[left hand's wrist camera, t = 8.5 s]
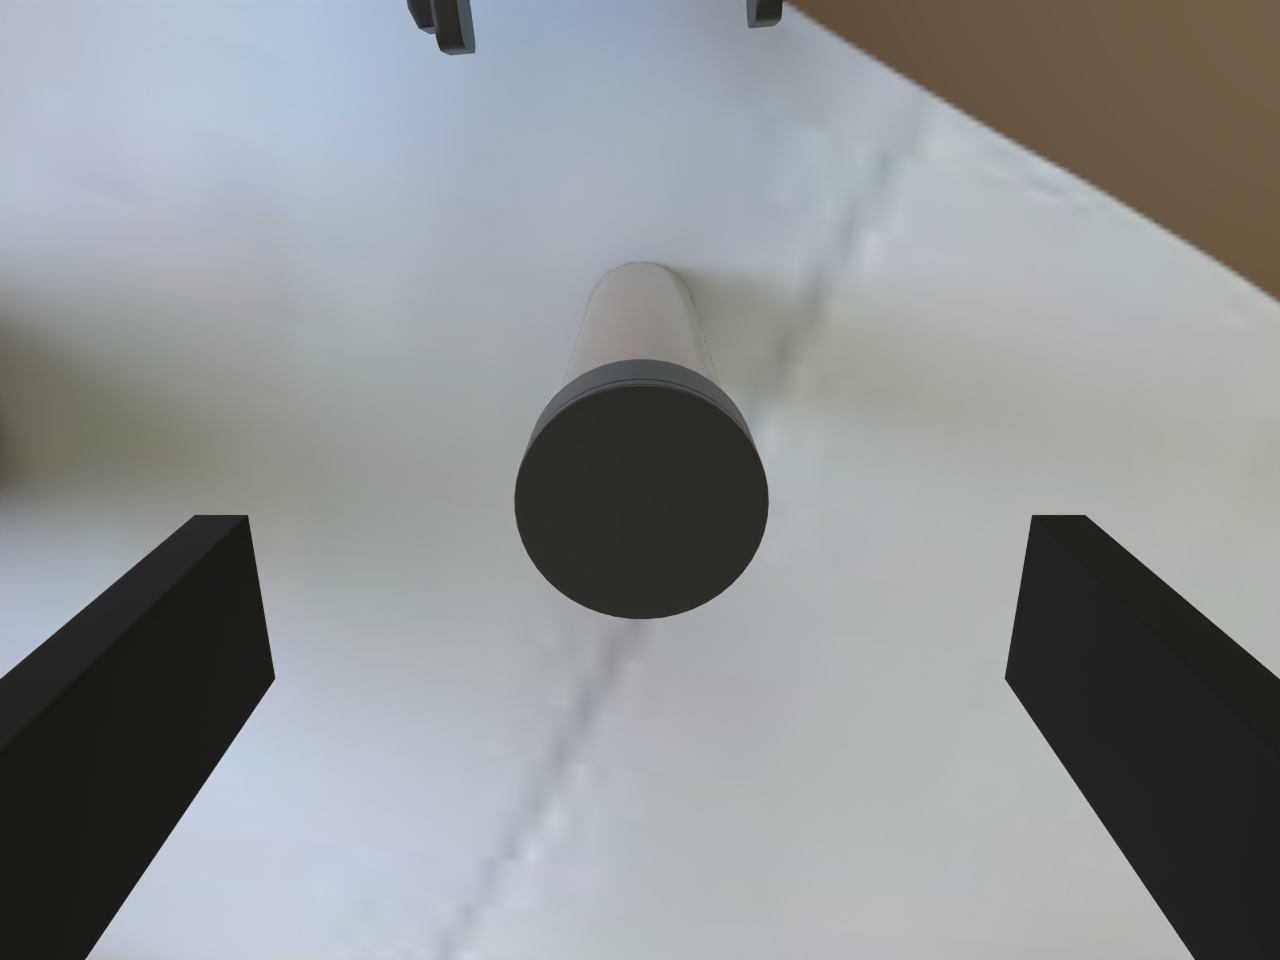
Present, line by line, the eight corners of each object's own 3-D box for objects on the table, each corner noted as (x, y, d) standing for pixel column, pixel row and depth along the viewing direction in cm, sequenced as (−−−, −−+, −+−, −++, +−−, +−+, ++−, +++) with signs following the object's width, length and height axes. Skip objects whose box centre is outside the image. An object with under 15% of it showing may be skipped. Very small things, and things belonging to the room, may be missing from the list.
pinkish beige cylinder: (647, 238, 33) (655, 347, 16) (715, 323, 34) (794, 511, 17) (564, 309, 34) (486, 485, 17) (634, 389, 35) (628, 633, 18)
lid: (656, 309, 17) (658, 329, 15) (802, 484, 18) (819, 522, 17) (479, 457, 18) (460, 492, 16) (627, 613, 19) (626, 663, 18)
